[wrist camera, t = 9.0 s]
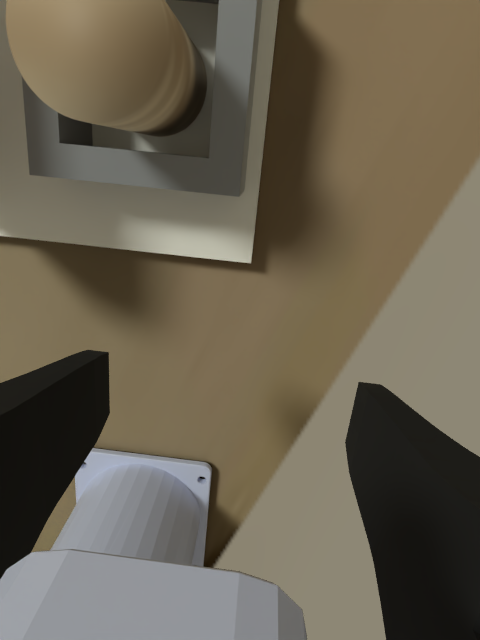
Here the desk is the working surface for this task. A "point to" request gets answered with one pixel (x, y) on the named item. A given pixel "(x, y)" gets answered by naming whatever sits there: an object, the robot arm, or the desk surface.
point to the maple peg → (109, 62)
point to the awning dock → (147, 152)
